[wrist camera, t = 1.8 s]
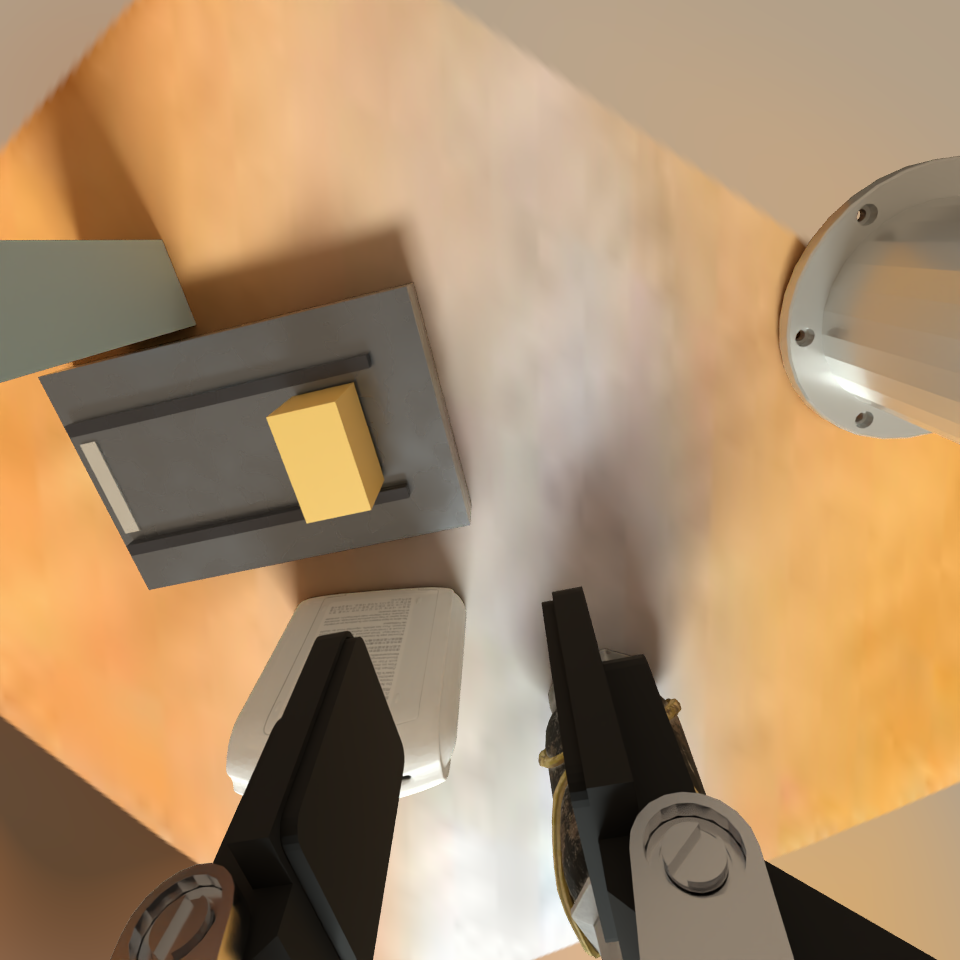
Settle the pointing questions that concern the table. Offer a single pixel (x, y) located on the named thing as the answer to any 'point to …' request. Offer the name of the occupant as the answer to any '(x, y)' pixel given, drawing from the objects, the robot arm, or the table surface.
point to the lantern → (566, 836)
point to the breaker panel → (261, 437)
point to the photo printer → (397, 662)
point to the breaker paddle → (327, 452)
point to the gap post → (83, 300)
